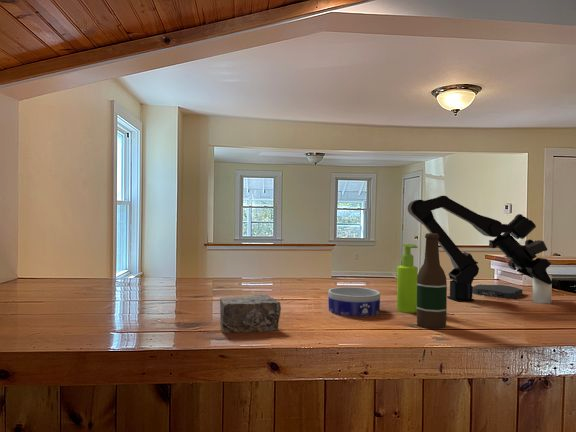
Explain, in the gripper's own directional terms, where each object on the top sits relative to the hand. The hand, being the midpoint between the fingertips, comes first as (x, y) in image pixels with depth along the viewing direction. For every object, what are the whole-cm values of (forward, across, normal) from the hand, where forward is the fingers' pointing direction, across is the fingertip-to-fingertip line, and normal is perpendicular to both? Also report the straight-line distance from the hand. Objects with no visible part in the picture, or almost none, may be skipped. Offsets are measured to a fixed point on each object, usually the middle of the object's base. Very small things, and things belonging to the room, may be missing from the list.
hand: (546, 282), depth 137 cm
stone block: (-60, -44, +70) cm, 102 cm away
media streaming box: (-2, +13, +13) cm, 18 cm away
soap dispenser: (-30, -20, +39) cm, 53 cm away
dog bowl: (-41, -22, +51) cm, 69 cm away
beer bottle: (-27, -35, +37) cm, 58 cm away
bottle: (+4, 0, +6) cm, 7 cm away
